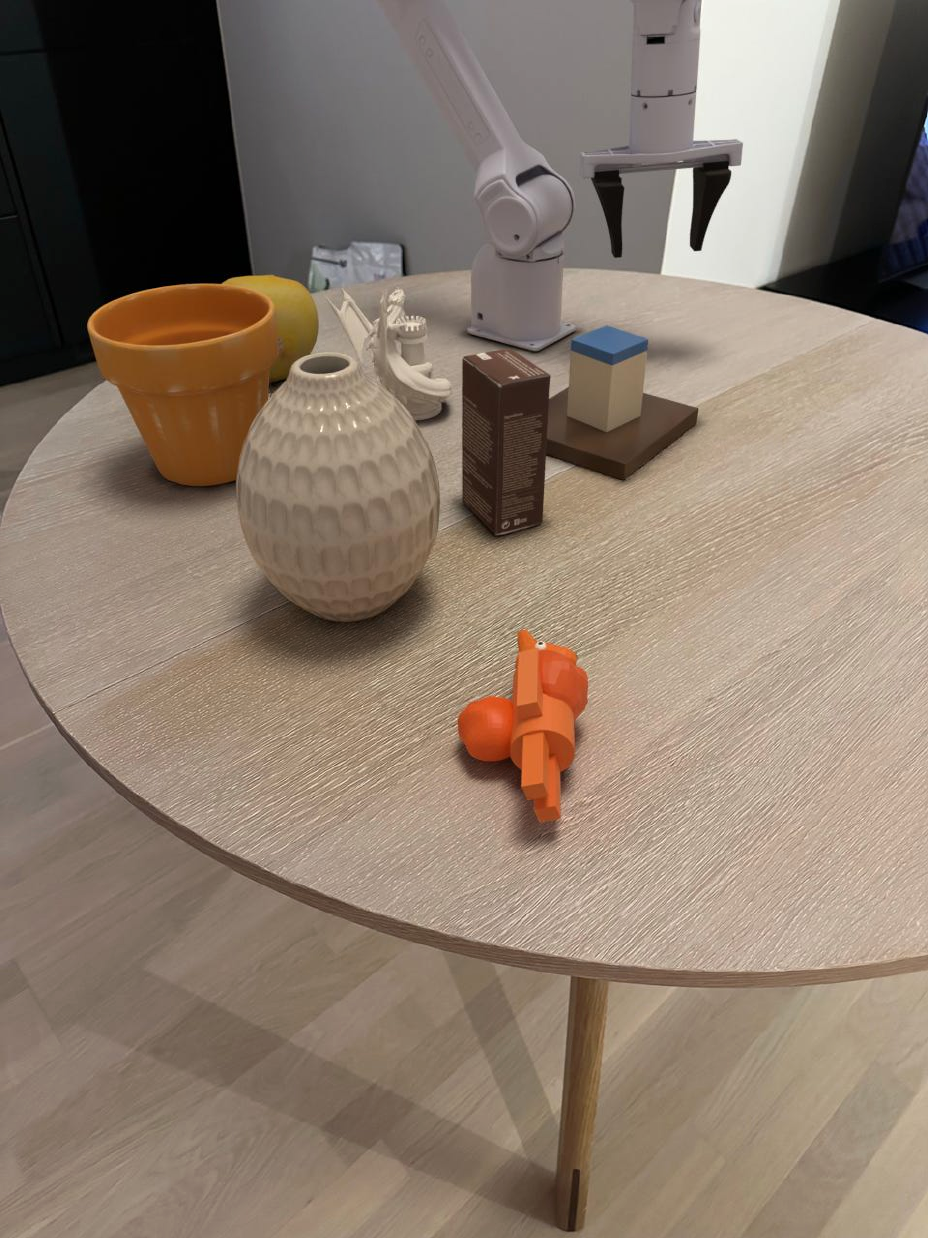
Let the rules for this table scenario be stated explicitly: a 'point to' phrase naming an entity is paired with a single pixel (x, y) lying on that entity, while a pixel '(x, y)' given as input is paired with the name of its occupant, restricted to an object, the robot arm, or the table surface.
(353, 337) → the figurine
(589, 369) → the carton
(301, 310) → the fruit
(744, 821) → the table surface
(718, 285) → the table surface
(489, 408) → the box
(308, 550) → the vase
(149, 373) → the flower pot
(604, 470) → the board
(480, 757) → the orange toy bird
